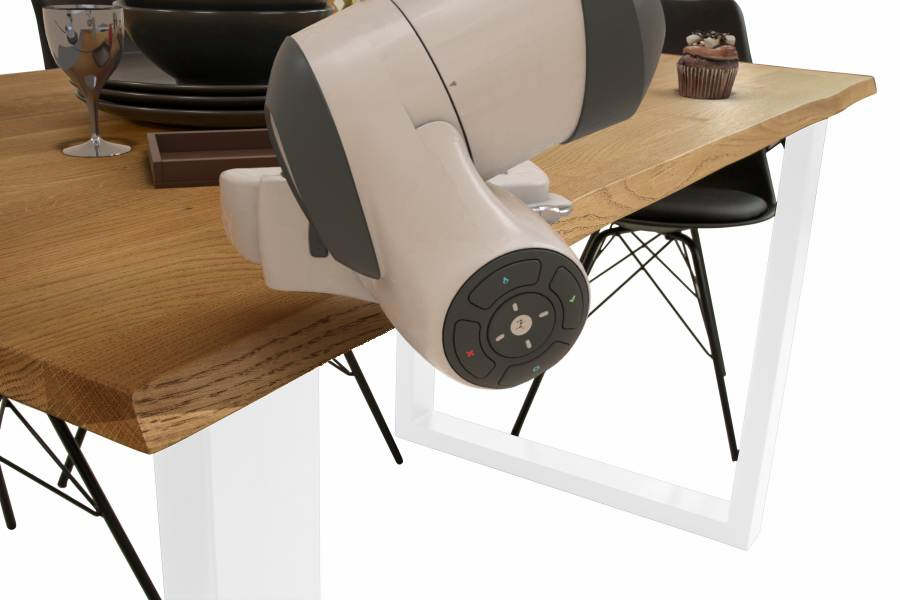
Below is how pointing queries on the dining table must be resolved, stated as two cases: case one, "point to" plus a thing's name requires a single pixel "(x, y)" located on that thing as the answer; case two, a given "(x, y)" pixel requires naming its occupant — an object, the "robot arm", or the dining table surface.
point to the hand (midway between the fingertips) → (360, 172)
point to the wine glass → (87, 59)
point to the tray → (206, 155)
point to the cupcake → (708, 66)
